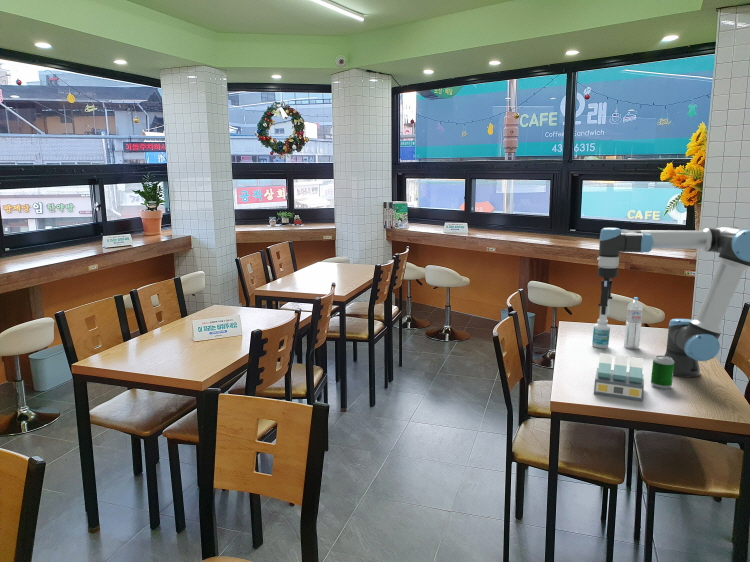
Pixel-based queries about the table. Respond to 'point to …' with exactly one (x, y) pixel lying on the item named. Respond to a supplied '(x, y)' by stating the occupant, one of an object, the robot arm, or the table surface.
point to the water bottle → (633, 324)
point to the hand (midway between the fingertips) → (604, 318)
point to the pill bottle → (601, 335)
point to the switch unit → (619, 387)
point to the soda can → (662, 372)
